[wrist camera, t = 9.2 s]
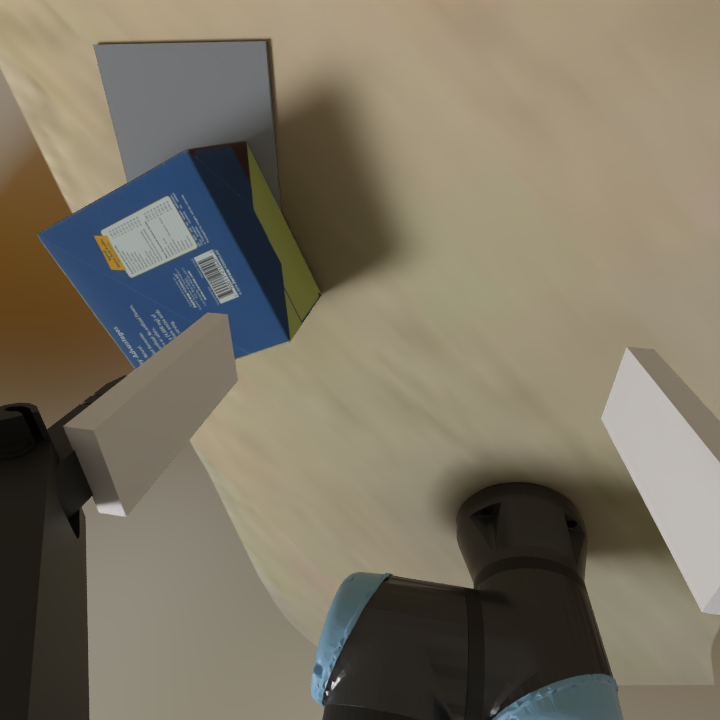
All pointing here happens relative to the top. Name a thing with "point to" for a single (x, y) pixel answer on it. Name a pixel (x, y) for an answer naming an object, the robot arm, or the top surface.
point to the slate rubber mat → (189, 101)
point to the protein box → (188, 255)
